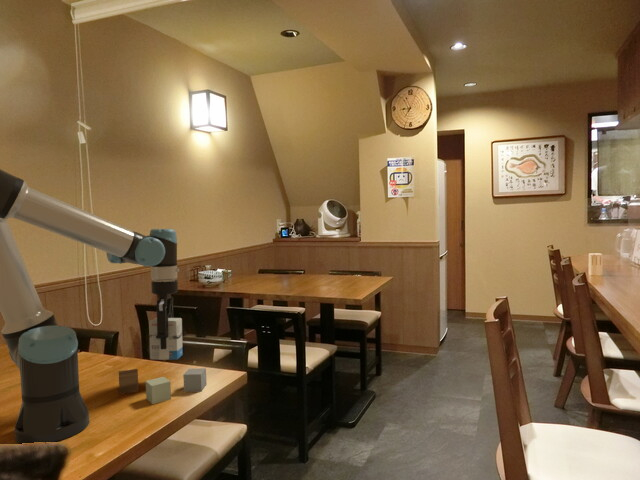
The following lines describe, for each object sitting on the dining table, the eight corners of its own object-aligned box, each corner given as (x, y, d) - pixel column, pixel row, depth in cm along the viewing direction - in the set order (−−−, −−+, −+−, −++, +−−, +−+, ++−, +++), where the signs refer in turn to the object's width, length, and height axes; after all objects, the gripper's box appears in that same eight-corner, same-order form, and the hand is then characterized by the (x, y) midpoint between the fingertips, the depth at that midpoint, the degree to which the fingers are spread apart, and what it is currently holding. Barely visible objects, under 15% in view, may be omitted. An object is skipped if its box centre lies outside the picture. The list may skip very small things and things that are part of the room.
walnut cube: (138, 391, 130) (137, 374, 130) (119, 394, 128) (118, 376, 128) (138, 385, 135) (137, 368, 134) (119, 388, 133) (118, 371, 133)
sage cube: (171, 399, 124) (170, 381, 123) (152, 404, 120) (151, 386, 120) (164, 394, 127) (163, 376, 127) (146, 398, 124) (145, 380, 124)
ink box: (183, 355, 140) (182, 317, 140) (177, 360, 135) (176, 320, 135) (156, 354, 141) (155, 317, 140) (149, 359, 136) (148, 320, 136)
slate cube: (201, 391, 129) (200, 374, 128) (184, 391, 129) (183, 374, 128) (206, 385, 134) (205, 368, 133) (189, 385, 134) (189, 368, 133)
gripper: (171, 283, 128) (173, 365, 129) (182, 276, 147) (184, 347, 148) (144, 284, 127) (146, 366, 128) (158, 276, 146) (159, 348, 147)
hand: (166, 355), depth 138 cm, fingers closed on ink box, 6 cm apart
